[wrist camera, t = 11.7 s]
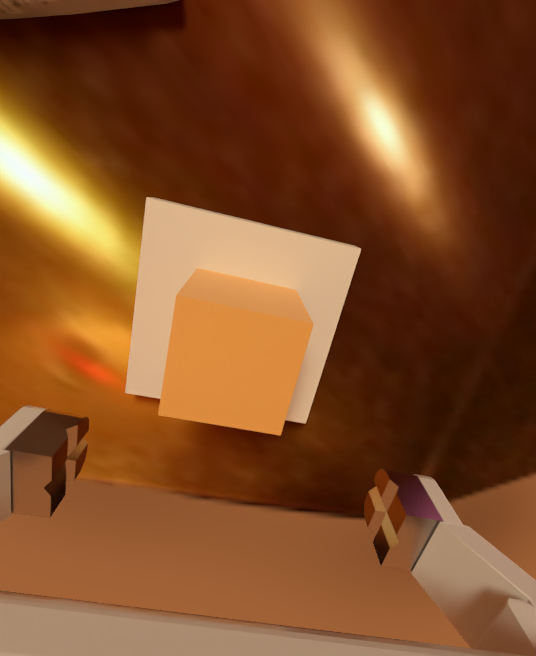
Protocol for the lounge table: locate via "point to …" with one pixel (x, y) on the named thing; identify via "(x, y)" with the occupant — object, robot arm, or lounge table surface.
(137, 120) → the lounge table surface
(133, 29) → the lounge table surface
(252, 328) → the solid orange cube
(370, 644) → the robot arm
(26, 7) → the packaged product
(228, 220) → the pin plate
